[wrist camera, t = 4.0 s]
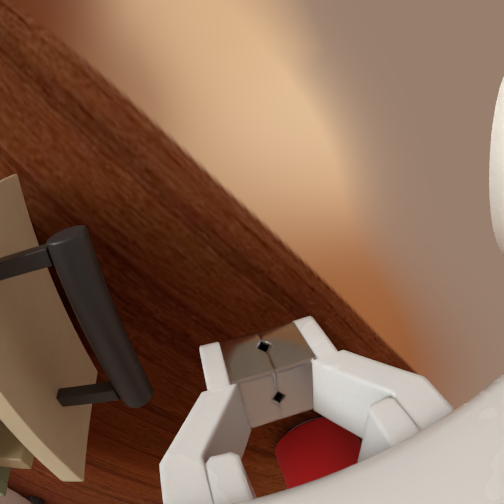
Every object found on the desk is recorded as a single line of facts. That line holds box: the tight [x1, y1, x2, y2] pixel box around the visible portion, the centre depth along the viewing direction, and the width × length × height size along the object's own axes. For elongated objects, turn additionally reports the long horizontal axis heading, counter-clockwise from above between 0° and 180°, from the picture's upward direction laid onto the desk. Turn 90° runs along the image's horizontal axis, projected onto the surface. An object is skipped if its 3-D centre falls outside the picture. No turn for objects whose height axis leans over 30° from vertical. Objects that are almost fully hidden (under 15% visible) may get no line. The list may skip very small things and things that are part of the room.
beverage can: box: [275, 417, 361, 489], centre depth 19 cm, size 7×7×12 cm
